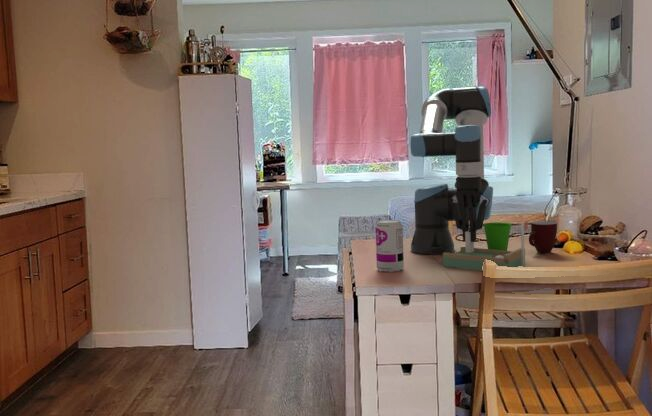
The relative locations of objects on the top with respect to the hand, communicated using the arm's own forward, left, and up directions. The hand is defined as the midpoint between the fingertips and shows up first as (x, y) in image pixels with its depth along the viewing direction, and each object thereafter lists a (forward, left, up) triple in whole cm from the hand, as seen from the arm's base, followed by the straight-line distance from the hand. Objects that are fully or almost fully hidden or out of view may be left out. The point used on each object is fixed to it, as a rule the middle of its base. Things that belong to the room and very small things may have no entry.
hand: (469, 251), depth 184 cm
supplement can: (-17, -19, -4) cm, 26 cm away
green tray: (+5, 0, -4) cm, 6 cm away
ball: (+10, -1, -4) cm, 11 cm away
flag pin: (+17, +2, -4) cm, 17 cm away
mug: (+12, +28, -4) cm, 30 cm away
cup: (+3, +14, -4) cm, 14 cm away
